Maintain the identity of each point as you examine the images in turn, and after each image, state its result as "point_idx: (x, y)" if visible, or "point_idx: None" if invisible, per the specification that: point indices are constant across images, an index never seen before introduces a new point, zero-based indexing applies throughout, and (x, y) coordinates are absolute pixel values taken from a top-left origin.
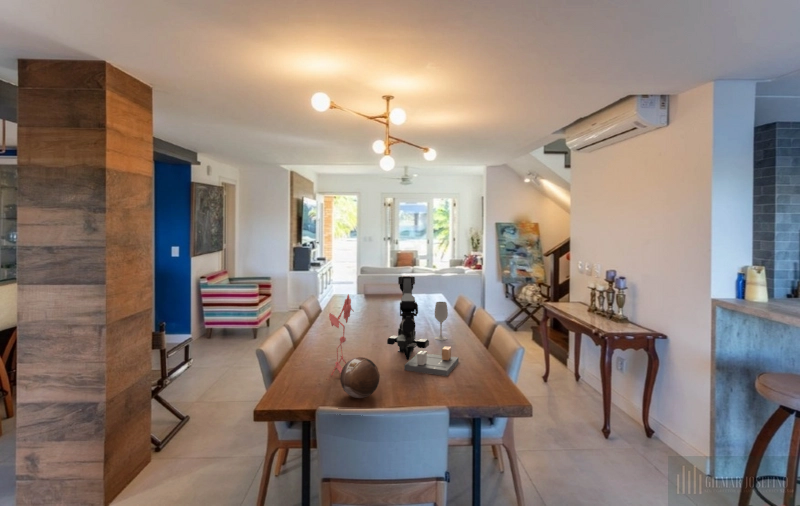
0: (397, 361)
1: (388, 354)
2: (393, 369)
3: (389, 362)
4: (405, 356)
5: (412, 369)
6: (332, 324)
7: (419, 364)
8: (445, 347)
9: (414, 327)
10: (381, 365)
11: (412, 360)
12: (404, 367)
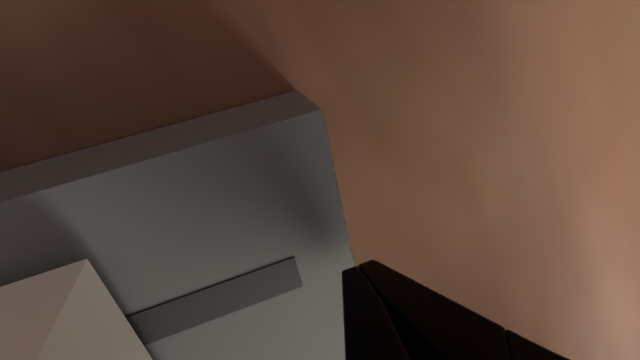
0: (511, 273)
1: (625, 331)
2: (450, 18)
3: (573, 199)
4: (429, 289)
5: (148, 138)
6: None
7: (17, 284)
8: None
9: None
10: (629, 58)
11: (330, 347)
12: (304, 98)
